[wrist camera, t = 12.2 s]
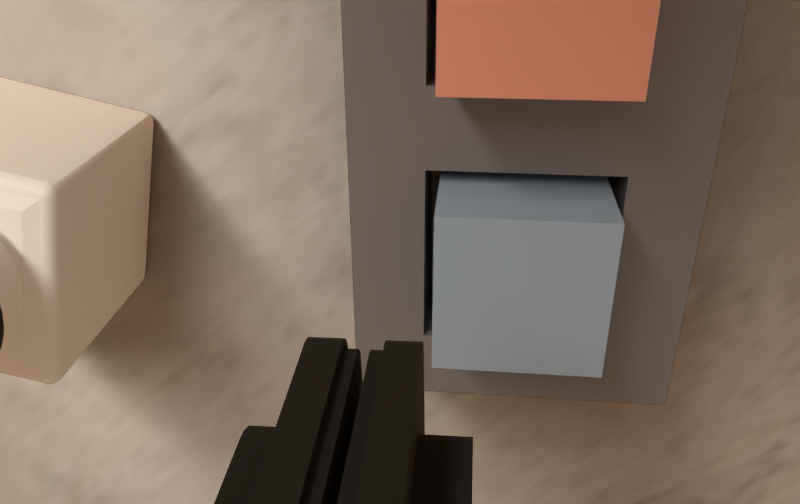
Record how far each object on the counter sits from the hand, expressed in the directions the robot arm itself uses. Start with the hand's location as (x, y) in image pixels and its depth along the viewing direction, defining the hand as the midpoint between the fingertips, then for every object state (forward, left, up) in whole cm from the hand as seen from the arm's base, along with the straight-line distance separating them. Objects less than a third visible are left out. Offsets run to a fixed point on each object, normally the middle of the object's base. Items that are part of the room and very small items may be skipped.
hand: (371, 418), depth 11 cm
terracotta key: (-5, +3, -12) cm, 13 cm away
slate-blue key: (+3, +3, -12) cm, 13 cm away
